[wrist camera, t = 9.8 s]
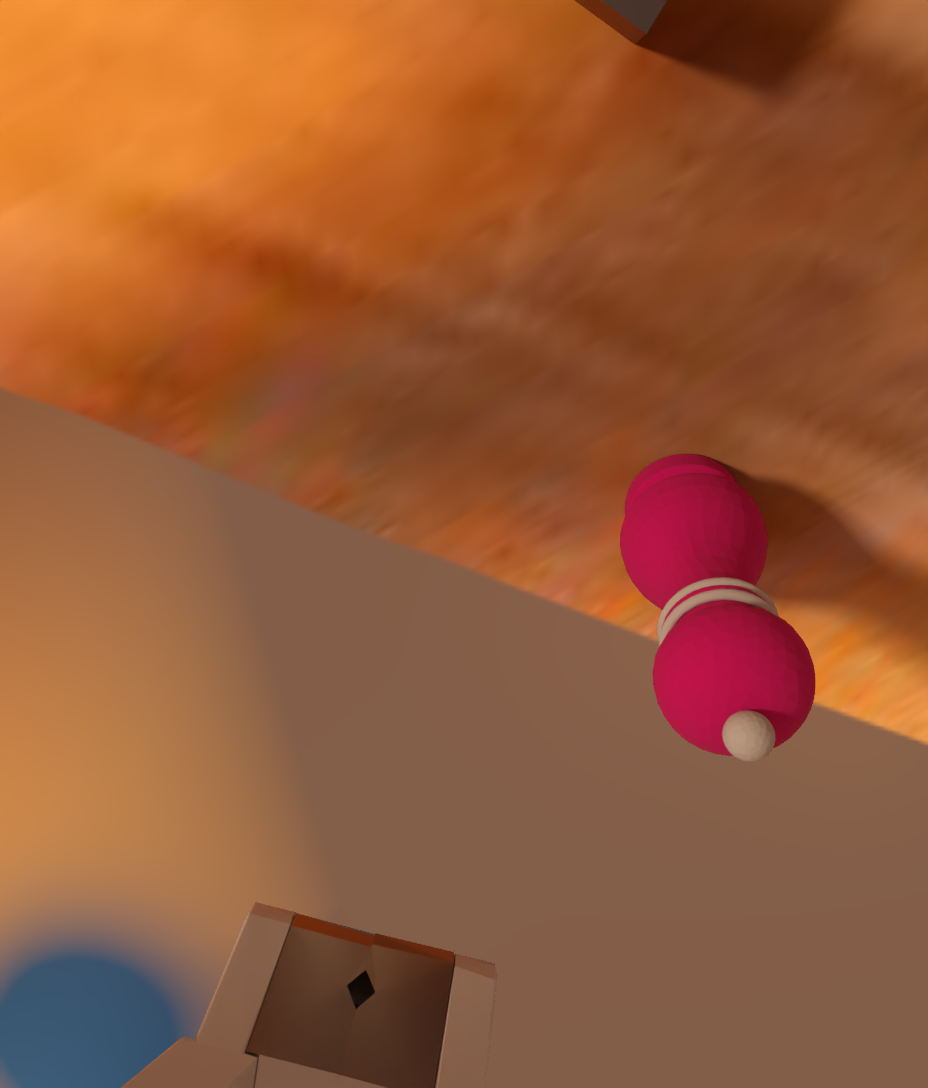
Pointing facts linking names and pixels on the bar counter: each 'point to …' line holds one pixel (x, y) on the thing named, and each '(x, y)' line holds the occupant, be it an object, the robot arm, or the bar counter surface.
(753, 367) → the bar counter surface
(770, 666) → the pepper mill
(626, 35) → the base
